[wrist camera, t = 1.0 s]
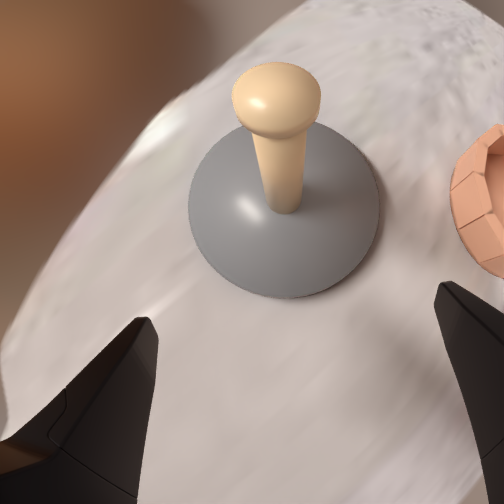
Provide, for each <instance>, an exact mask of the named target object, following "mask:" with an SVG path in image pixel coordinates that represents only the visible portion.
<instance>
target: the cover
mask: <svg viewBox="0 0 504 504" xmlns="http://www.w3.org/2000/svg"><path fill="white" fill-rule="evenodd" d="M320 100H321V91H320V87H319V84H318V82H317V81H316V79H315V78H314V77H313V76H312V75H311V74H310V73H309V72H308V71H306V70H305V69H303V68H301V67H299V66H296V65H293V64H289V63H283V62H272V63H265V64H261V65H258V66H255V67H253V68H251V69H249V70H248V71H246V72H245V73H243V74H242V75H241V76H240V77H239V79H238V80H237V81H236V83H235V85H234V87H233V91H232V101H233V105H234V108H235V112H236V115H237V118H238V120H239V121H240V123H241V124H242V125H243V126H241V127H239V128H237V129H235V130H233V131H232V132H230V133H229V134H227V135H226V136H224V137H223V138H222V139H221V140H220V141H218V142H217V143H216V144H215V145H214V146H213V147H212V148H211V149H210V151H209V152H208V153H207V154H206V156H205V157H204V158H203V160H202V161H201V163H200V165H199V167H198V169H197V171H196V173H195V175H194V178H193V181H192V184H191V188H190V193H189V201H188V213H189V222H190V227H191V231H192V234H193V237H194V239H195V242H196V244H197V246H198V248H199V250H200V252H201V253H202V255H203V256H204V257H205V259H206V260H207V262H208V263H209V264H210V265H211V266H212V267H213V268H214V269H215V270H216V271H217V272H218V273H219V274H220V275H221V276H223V277H224V278H225V279H226V280H228V281H230V282H231V283H233V284H235V285H236V286H238V287H240V288H242V289H244V290H247V291H249V292H251V293H254V294H258V295H262V296H266V297H273V298H296V297H303V296H307V295H311V294H314V293H317V292H320V291H322V290H324V289H327V288H329V287H330V286H332V285H334V284H335V283H337V282H339V281H340V280H342V279H343V278H344V277H345V276H347V275H348V274H349V273H350V272H351V271H352V270H353V269H354V268H355V267H356V266H357V265H358V264H359V263H360V262H361V260H362V259H363V257H364V256H365V255H366V253H367V252H368V250H369V248H370V246H371V244H372V242H373V240H374V236H375V233H376V230H377V227H378V221H379V210H380V203H379V194H378V189H377V185H376V181H375V178H374V176H373V173H372V171H371V169H370V167H369V165H368V164H367V162H366V160H365V159H364V157H363V156H362V155H361V153H360V152H359V151H358V150H357V149H356V148H355V146H354V145H353V144H352V143H351V142H349V141H348V140H347V139H346V138H344V137H343V136H342V135H341V134H339V133H337V132H336V131H334V130H333V129H331V128H329V127H327V126H324V125H322V124H320V123H317V122H315V120H316V119H317V116H318V114H319V109H320Z"/></svg>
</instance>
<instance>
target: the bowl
mask: <svg viewBox="0 0 504 504" xmlns="http://www.w3.org/2000/svg"><path fill="white" fill-rule="evenodd" d="M450 204H451V211H452V215H453V219H454V223H455V226H456V229H457V231H458V234H459V236H460V238H461V240H462V242H463V244H464V246H465V247H466V249H467V250H468V252H469V253H470V255H471V256H472V257H473V258H474V260H475V261H476V262H477V263H478V264H479V265H480V266H481V267H482V268H484V269H485V270H486V271H488V272H489V273H491V274H493V275H495V276H497V277H500V278H503V279H504V125H499V124H496V125H494V126H493V127H492V128H491V129H489V130H488V131H487V132H486V133H484V134H483V135H482V136H481V137H479V138H478V139H477V140H476V141H475V142H474V144H473V145H472V146H471V147H470V148H469V149H468V150H467V151H466V152H465V153H464V154H463V155H462V156H461V157H460V158H459V159H458V161H457V164H456V167H455V169H454V171H453V174H452V178H451V183H450Z"/></svg>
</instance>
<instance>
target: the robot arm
mask: <svg viewBox="0 0 504 504" xmlns="http://www.w3.org/2000/svg"><path fill="white" fill-rule="evenodd" d="M434 309H435V313H436V316H437V319H438V322H439V326H440V329H441V333H442V336H443V340H444V344H445V347H446V350H447V353H448V356H449V358H450V361H451V364H452V367H453V369H454V372H455V375H456V378H457V381H458V384H459V386H460V389H461V392H462V395H463V399H464V402H465V405H466V408H467V411H468V415H469V418H470V421H471V425H472V428H473V432H474V436H475V440H476V443H477V447H478V451H479V455H480V459H481V465H482V469H483V474H484V479H485V484H486V489H487V495H488V500H489V504H504V314H503V313H502V312H500V311H499V310H497V309H496V308H494V307H493V306H491V305H489V304H488V303H486V302H485V301H483V300H482V299H480V298H479V297H477V296H475V295H474V294H472V293H471V292H469V291H467V290H466V289H464V288H463V287H461V286H459V285H458V284H456V283H455V282H453V281H446V282H441V283H440V284H439V286H438V290H437V294H436V298H435V301H434ZM158 342H159V340H158V335H157V332H156V330H155V328H154V326H153V324H152V322H151V320H150V319H149V318H148V317H136V318H135V319H134V320H133V321H132V322H131V323H130V324H128V325H127V326H126V327H125V328H124V329H123V330H122V331H121V332H120V333H119V334H118V335H117V336H116V337H115V338H114V339H113V340H112V341H111V342H110V343H109V344H108V345H107V346H106V347H105V348H104V349H103V350H102V351H101V352H100V353H99V354H98V355H97V356H96V357H95V358H94V359H93V360H92V361H91V362H90V363H89V364H88V365H87V366H86V367H85V368H84V369H83V370H82V371H81V372H80V373H79V374H78V375H77V376H76V377H75V378H74V379H73V380H72V381H71V382H70V383H69V384H68V385H67V386H66V388H64V389H63V390H62V391H61V392H60V393H59V394H58V395H57V396H56V397H55V398H54V399H53V400H52V401H51V402H50V403H49V404H48V405H47V406H46V407H44V408H43V409H42V410H41V411H40V412H39V413H38V414H37V415H36V416H34V417H33V418H32V419H31V420H30V421H29V422H28V423H26V424H25V425H24V426H23V427H22V428H21V429H19V430H18V431H17V432H16V433H15V434H14V435H12V436H11V437H9V438H8V439H6V440H3V441H0V504H137V497H138V489H139V481H140V474H141V466H142V459H143V453H144V446H145V440H146V433H147V427H148V421H149V415H150V409H151V404H152V398H153V393H154V387H155V379H156V366H157V354H158Z"/></svg>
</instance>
